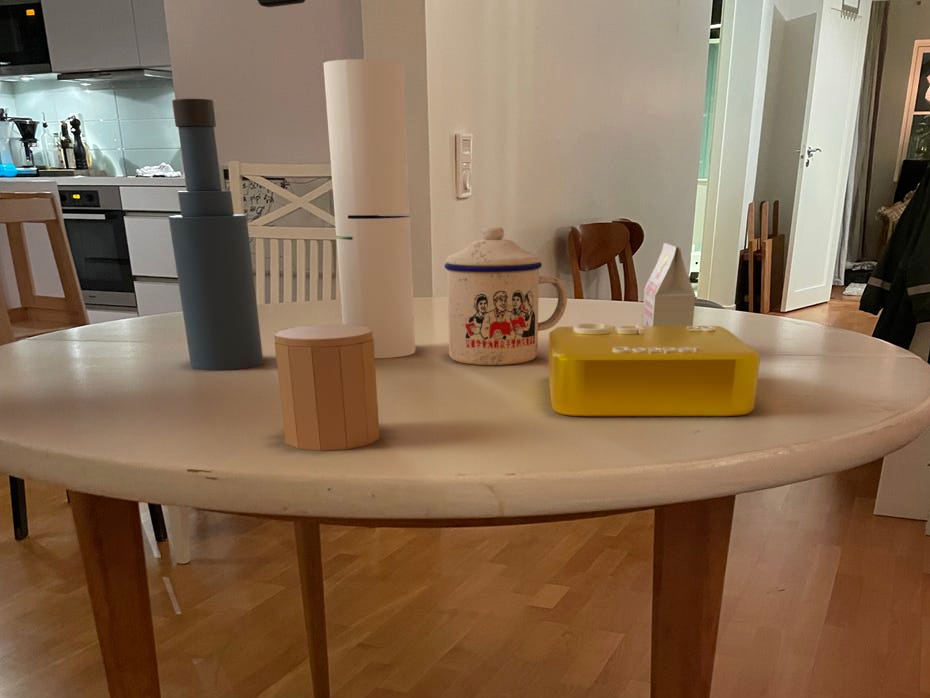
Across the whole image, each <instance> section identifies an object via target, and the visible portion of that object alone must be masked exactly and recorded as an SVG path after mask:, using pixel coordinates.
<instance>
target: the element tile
mask: <svg viewBox="0 0 930 698" xmlns="http://www.w3.org/2000/svg"><path fill="white" fill-rule="evenodd" d="M548 336H549V337H548V386H549V393H550V402H551V403H550V404H551V407H552V409H553V411H554V412H555V413H557V414H559V415H562V416H569V417H570V416H571V417H736V416H737V417H738V416H745V415H749V414H750V413H752V412H753V410H754V408H755V405H756V404H755V403H756V394H757V388H758V381H759V380H758V378H759V371H760V363H761V354H760V353H759V352H758V351H757V350H755V349H754V348H753V347H751V346H750V345H749V344H747V342H744V341H743V340H742V339H740V337H739V336H737V335H735V334H734V333H733V332H731V331H730V330H729V329H727V328H725V327H723V326H720V325H693V326H642V324H639V323H636V324H634V326H633V325H630V326H629V325H628V326H627V325H626V326H625V325H624V326H623V325H621V324H619V323H618V324H615V325H614V326H613V325H612V326H611V325H610V324H609V323H605V322H580V323H575V324H573V326H557V327H555V328H554V329H552V330H551V331H550V332H549V334H548Z"/></svg>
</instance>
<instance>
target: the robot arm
mask: <svg viewBox="0 0 930 698" xmlns="http://www.w3.org/2000/svg"><path fill="white" fill-rule="evenodd" d="M257 2H258V4H259V6H261V7H265V8H275V7H283V6H291V5H298V4H303V3H305V2H306V0H257Z"/></svg>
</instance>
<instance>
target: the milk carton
mask: <svg viewBox="0 0 930 698" xmlns="http://www.w3.org/2000/svg"><path fill="white" fill-rule="evenodd" d="M681 249H682V248H681V246H679V245H676V244H673V243H671V242H663V245H662V249H661V251H660V254H659V256H658V259H657V261H656V264H655V265H654V267H653V270H652V271H651V274H650V275H649V277H648V279H647V281H646V282H645V285H644V288H643V298H642V299H643V302H642V315H641V317H642V318H641V326H694V317H695V316H694V314H695V304H696V293H695V291H694V288H693V285H692V283H691V280H690V278H689V275H688V272H687V270H686V267H685V263H684V260H683V256H682V250H681Z"/></svg>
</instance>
